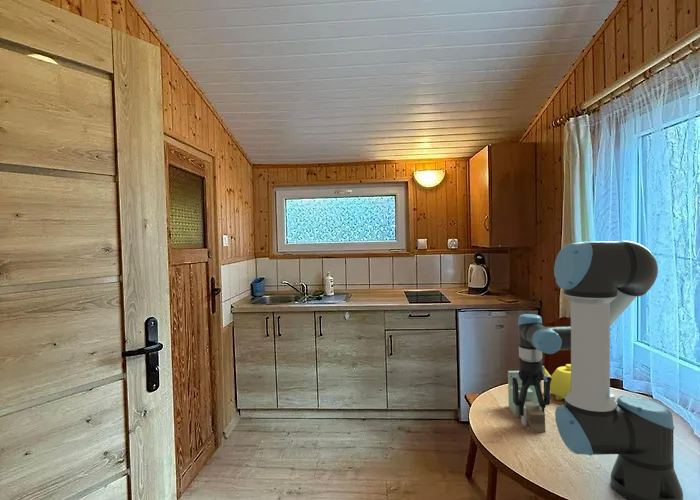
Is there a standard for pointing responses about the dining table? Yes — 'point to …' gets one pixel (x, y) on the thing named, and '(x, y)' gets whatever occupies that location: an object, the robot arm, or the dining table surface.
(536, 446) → the dining table surface
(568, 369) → the teapot
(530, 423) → the rail
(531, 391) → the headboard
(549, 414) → the dining table surface
